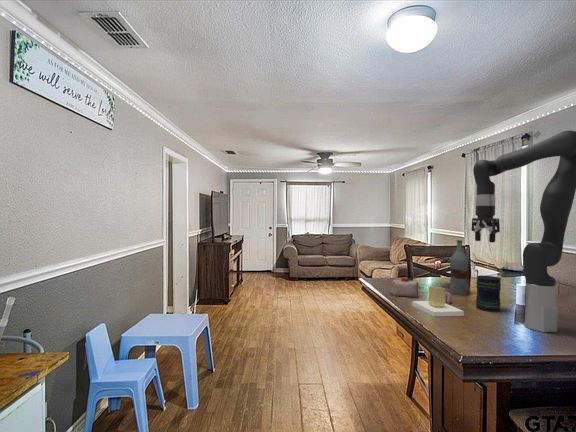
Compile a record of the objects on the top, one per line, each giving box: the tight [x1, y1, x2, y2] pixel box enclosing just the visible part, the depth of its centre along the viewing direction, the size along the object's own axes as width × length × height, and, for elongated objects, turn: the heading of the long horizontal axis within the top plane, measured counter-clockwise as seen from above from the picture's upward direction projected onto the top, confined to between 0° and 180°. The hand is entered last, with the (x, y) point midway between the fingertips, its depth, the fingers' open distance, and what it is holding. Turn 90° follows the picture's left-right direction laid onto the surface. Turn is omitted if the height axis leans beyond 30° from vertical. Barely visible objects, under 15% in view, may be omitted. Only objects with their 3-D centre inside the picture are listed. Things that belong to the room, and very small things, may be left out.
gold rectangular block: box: [428, 286, 446, 307], centre depth 152 cm, size 5×5×8 cm
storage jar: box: [475, 275, 502, 313], centre depth 156 cm, size 10×10×15 cm
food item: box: [391, 276, 419, 298], centre depth 180 cm, size 14×8×10 cm, turn 73°
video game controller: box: [445, 290, 453, 305], centre depth 168 cm, size 10×5×7 cm, turn 49°
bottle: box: [448, 239, 469, 296], centre depth 187 cm, size 9×9×30 cm
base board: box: [411, 300, 465, 318], centre depth 152 cm, size 18×14×2 cm
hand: (484, 241), depth 147 cm, fingers open, 8 cm apart
